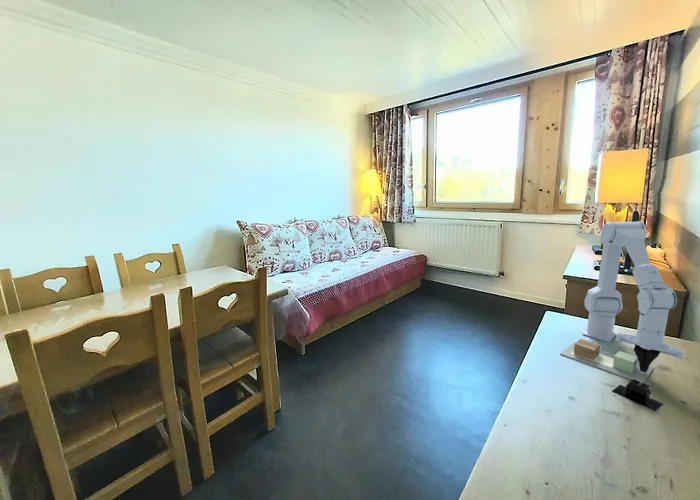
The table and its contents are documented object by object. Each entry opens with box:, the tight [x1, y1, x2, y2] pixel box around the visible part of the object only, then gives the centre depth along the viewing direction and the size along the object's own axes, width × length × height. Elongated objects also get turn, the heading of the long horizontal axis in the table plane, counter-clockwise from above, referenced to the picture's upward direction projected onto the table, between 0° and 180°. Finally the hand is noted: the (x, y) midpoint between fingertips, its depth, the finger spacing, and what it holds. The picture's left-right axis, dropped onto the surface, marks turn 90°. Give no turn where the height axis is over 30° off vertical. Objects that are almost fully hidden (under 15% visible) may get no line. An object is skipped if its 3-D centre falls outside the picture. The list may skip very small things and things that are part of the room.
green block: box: [613, 350, 639, 373], centre depth 98 cm, size 5×5×4 cm
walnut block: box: [574, 338, 601, 360], centre depth 106 cm, size 6×6×4 cm
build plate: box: [559, 341, 654, 385], centre depth 102 cm, size 12×21×1 cm, turn 37°
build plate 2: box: [611, 379, 665, 412], centre depth 85 cm, size 12×7×5 cm, turn 29°
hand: (643, 370), depth 94 cm, fingers closed
